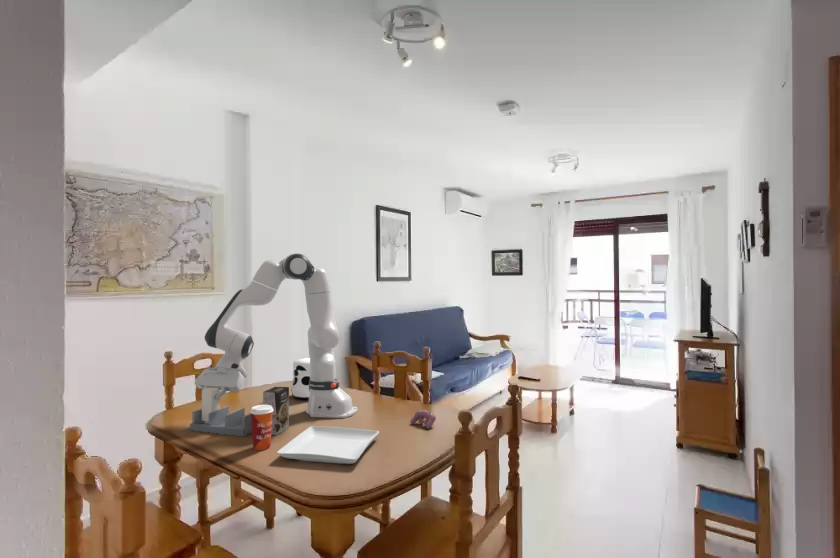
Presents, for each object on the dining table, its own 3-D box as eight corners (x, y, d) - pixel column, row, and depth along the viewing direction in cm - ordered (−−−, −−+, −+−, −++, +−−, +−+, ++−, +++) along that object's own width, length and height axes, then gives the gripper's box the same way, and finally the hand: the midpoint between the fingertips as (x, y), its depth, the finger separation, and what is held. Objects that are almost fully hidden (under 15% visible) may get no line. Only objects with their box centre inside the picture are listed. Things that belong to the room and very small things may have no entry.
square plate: (356, 470, 136) (356, 458, 136) (274, 463, 141) (274, 451, 141) (380, 439, 162) (380, 429, 162) (310, 434, 167) (310, 424, 167)
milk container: (334, 395, 223) (334, 359, 223) (309, 403, 208) (309, 365, 208) (309, 390, 231) (309, 356, 231) (283, 398, 217) (283, 361, 217)
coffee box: (277, 435, 165) (277, 392, 165) (262, 434, 166) (262, 391, 166) (289, 427, 174) (289, 386, 174) (274, 426, 175) (274, 385, 175)
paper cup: (259, 453, 148) (260, 411, 148) (245, 448, 152) (245, 408, 152) (278, 446, 154) (278, 406, 154) (264, 441, 158) (264, 402, 158)
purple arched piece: (433, 431, 174) (438, 414, 177) (427, 429, 171) (432, 411, 174) (415, 426, 181) (420, 409, 183) (408, 423, 178) (413, 406, 180)
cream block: (219, 417, 176) (219, 387, 176) (211, 421, 171) (211, 390, 171) (210, 416, 177) (210, 387, 177) (201, 420, 173) (201, 389, 173)
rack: (262, 426, 175) (262, 408, 175) (243, 436, 163) (243, 417, 163) (212, 420, 181) (212, 403, 181) (189, 430, 170) (189, 412, 170)
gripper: (202, 363, 184) (183, 392, 174) (244, 365, 178) (227, 396, 169) (209, 371, 188) (192, 400, 179) (251, 374, 183) (235, 404, 173)
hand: (209, 398), depth 174 cm, fingers closed on cream block, 4 cm apart
